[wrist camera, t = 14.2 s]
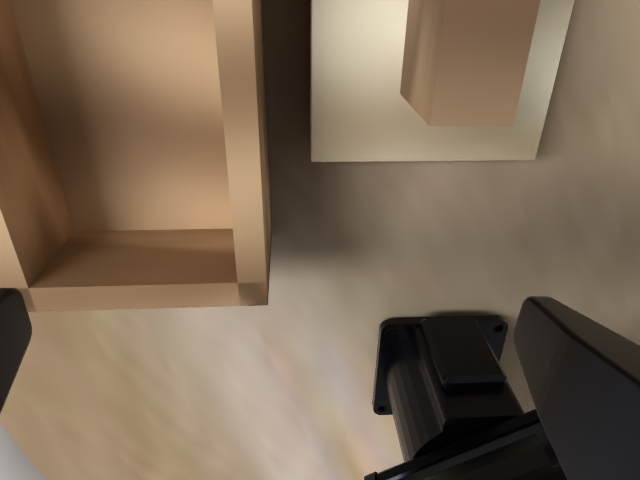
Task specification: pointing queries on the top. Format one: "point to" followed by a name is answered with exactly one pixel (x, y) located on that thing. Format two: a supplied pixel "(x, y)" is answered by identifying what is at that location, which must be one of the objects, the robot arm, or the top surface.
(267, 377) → the top surface
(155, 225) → the toolbox
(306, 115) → the top surface
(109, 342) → the top surface
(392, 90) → the lid
